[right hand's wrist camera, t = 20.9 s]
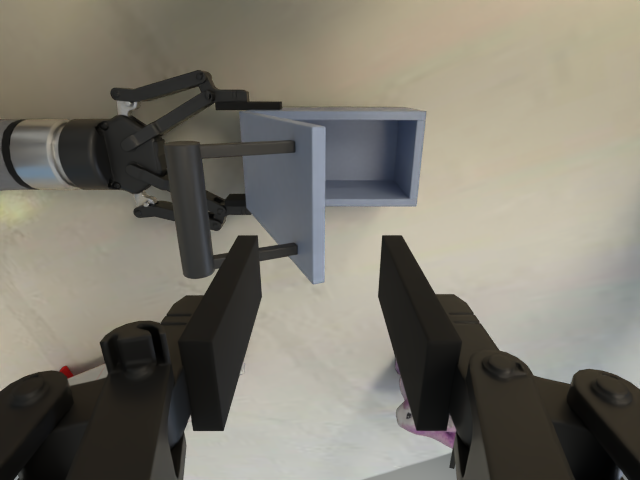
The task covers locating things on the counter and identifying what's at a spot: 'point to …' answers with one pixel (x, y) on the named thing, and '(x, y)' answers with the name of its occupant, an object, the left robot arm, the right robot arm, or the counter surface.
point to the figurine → (407, 423)
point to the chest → (367, 152)
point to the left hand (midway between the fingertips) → (282, 155)
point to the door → (256, 192)
